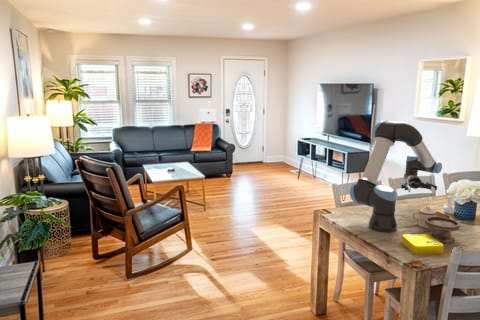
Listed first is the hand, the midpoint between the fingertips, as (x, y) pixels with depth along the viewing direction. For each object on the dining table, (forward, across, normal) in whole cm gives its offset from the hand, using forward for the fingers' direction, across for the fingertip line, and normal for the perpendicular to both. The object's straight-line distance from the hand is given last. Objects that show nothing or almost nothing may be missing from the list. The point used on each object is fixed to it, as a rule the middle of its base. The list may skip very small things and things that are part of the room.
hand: (422, 190), depth 223 cm
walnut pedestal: (+28, -4, -18) cm, 33 cm away
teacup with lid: (+10, 0, -18) cm, 21 cm away
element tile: (+42, +8, -18) cm, 47 cm away
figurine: (-18, -21, -19) cm, 34 cm away
